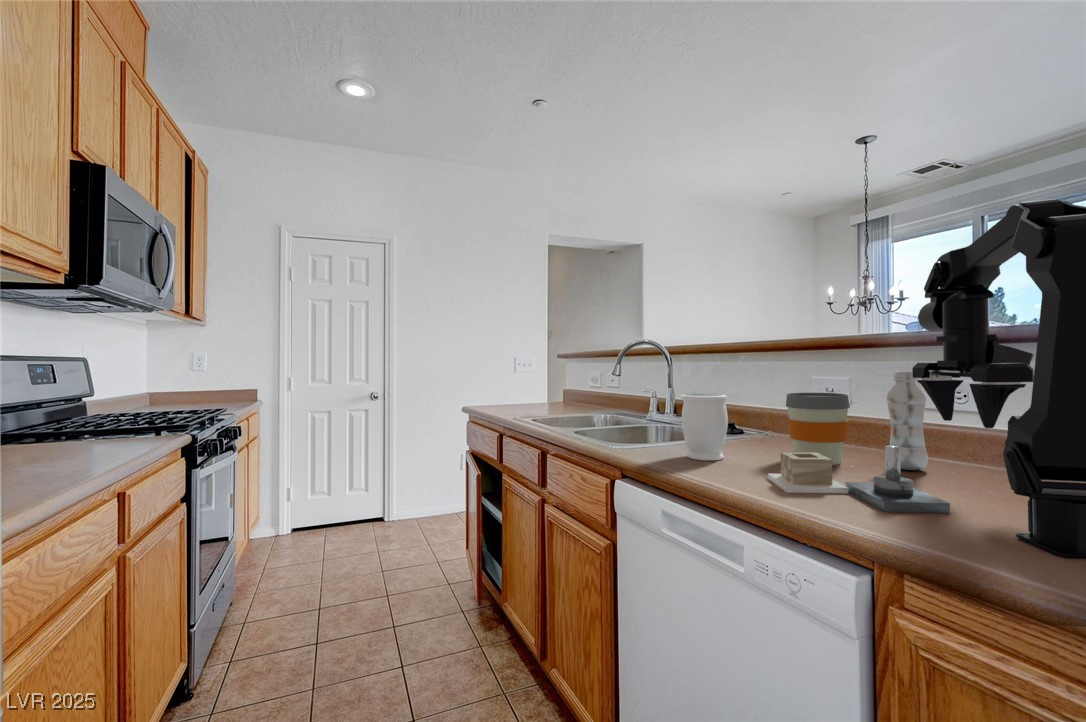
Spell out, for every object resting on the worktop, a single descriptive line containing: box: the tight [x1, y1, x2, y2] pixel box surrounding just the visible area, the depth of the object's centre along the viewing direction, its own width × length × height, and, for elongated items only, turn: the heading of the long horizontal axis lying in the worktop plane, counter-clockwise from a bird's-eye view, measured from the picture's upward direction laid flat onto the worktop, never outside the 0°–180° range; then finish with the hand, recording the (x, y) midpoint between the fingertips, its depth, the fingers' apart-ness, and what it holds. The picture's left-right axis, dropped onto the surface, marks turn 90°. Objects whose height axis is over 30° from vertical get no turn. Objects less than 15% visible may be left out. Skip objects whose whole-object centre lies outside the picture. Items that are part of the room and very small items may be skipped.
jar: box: [681, 393, 729, 462], centre depth 115 cm, size 11×10×15 cm
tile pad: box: [767, 472, 849, 495], centre depth 88 cm, size 10×10×1 cm
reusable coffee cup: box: [785, 392, 850, 466], centre depth 109 cm, size 13×13×15 cm
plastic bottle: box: [886, 371, 929, 471], centre depth 99 cm, size 6×7×20 cm
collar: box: [780, 451, 833, 485], centre depth 88 cm, size 6×6×4 cm
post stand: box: [845, 445, 951, 514], centre depth 78 cm, size 12×9×9 cm
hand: (967, 424), depth 79 cm, fingers open, 9 cm apart
